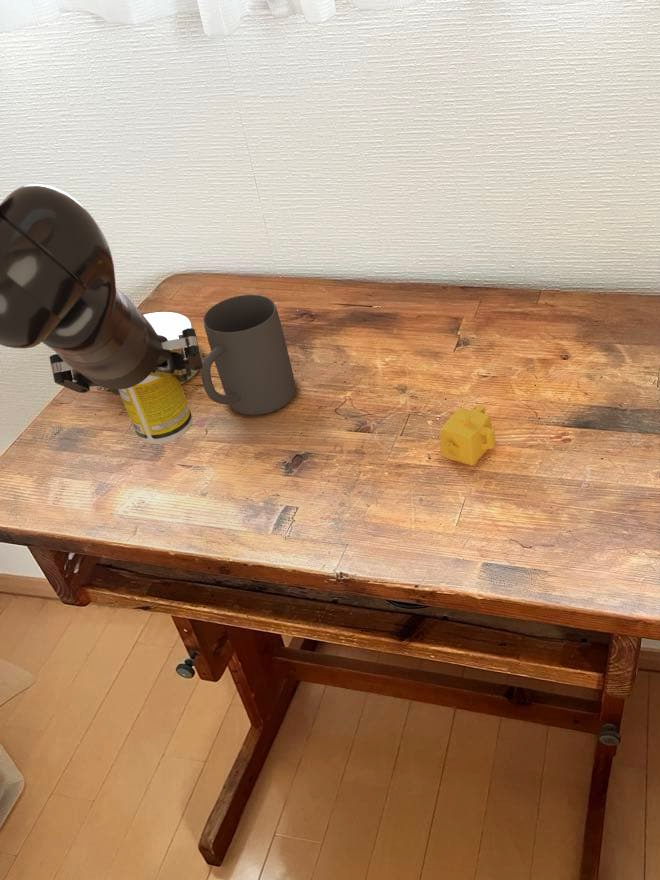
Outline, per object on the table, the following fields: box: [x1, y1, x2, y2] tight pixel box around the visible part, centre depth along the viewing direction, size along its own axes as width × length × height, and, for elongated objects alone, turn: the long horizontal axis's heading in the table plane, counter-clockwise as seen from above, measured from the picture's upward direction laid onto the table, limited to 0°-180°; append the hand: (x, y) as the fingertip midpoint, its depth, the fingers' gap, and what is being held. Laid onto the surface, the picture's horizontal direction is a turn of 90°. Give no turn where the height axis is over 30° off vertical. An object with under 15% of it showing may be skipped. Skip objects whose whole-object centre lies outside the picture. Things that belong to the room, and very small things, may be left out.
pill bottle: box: [118, 374, 193, 445], centre depth 86 cm, size 6×6×11 cm
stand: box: [143, 311, 204, 385], centre depth 114 cm, size 12×12×5 cm
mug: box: [199, 294, 296, 416], centre depth 103 cm, size 14×9×12 cm
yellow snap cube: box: [439, 405, 497, 467], centre depth 93 cm, size 8×6×5 cm
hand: (150, 378), depth 88 cm, fingers closed on pill bottle, 6 cm apart
